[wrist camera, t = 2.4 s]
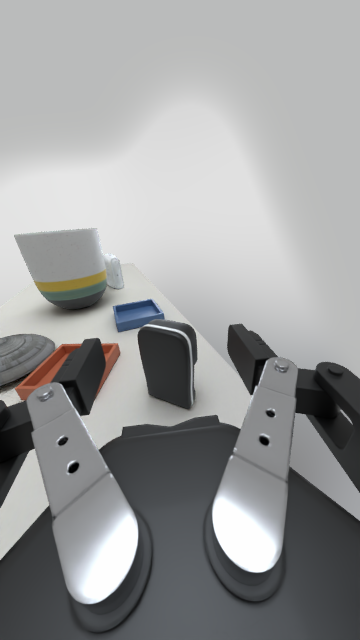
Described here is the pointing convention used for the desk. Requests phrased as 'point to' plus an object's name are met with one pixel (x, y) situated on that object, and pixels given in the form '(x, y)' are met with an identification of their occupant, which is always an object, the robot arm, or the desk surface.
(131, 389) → the desk surface
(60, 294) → the planter
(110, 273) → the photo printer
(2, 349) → the flying saucer
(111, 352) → the terracotta tray
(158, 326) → the battery charger
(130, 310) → the blue tray
